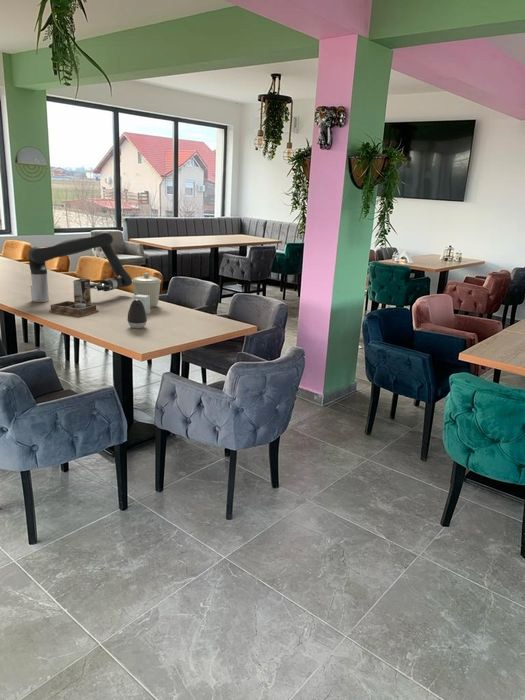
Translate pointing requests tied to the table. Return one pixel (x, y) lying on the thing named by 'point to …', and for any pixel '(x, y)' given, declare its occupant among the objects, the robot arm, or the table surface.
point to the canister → (147, 288)
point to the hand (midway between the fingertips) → (92, 288)
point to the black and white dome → (137, 315)
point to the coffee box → (82, 291)
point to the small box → (144, 301)
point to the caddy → (73, 308)
